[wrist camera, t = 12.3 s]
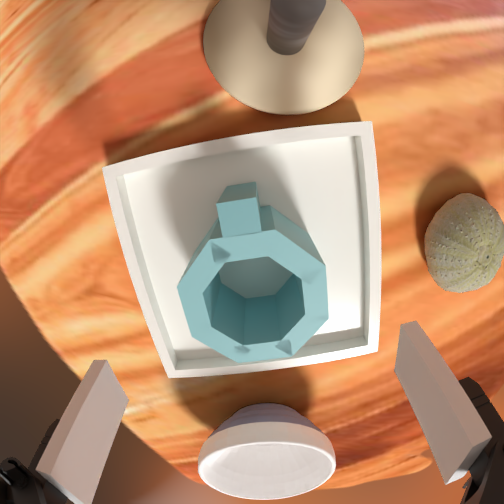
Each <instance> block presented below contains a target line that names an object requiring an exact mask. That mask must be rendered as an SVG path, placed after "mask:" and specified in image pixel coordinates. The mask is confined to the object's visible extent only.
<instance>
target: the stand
mask: <svg viewBox="0 0 504 504" xmlns="http://www.w3.org/2000/svg"><path fill="white" fill-rule="evenodd" d="M203 47H204V54H205V58H206V61H207V64H208V66H209V68H210V70H211V72H212V74H213V75H214V77H215V79H216V80H217V81H218V83H219V84H220V85H221V86H222V88H223V89H224V90H225V91H227V92H228V93H229V94H230V95H231V96H232V97H234V98H235V99H236V100H238V101H239V102H241V103H243V104H245V105H246V106H249V107H251V108H253V109H256V110H259V111H262V112H265V113H270V114H275V115H300V114H306V113H310V112H314V111H317V110H319V109H322V108H324V107H326V106H328V105H330V104H332V103H334V102H335V101H337V100H338V99H340V98H341V97H342V96H343V95H345V94H346V93H347V92H348V90H349V89H350V88H351V87H352V86H353V84H354V83H355V81H356V80H357V78H358V76H359V74H360V72H361V68H362V65H363V60H364V41H363V36H362V33H361V30H360V27H359V25H358V23H357V21H356V19H355V17H354V16H353V14H352V13H351V11H350V10H349V9H348V8H347V6H346V5H345V4H344V3H343V2H342V1H341V0H220V1H219V2H218V4H217V5H216V6H215V7H214V9H213V10H212V12H211V14H210V15H209V18H208V20H207V23H206V25H205V30H204V36H203Z"/></svg>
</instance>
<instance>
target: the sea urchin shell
mask: <svg viewBox="0 0 504 504" xmlns="http://www.w3.org/2000/svg"><path fill="white" fill-rule="evenodd" d="M425 255H426V260H427V266H428V271H429V272H430V274H431V276H432V277H433V279H434V281H435V282H436V283H437V285H438V286H440V287H441V288H443V290H445V291H451V292H458V293H461V292H462V293H463V292H467V291H472V290H477V289H478V288H480V287H482V286H484V285H487V284H488V283H489V282H490V281H491V280H492V279H493V277H495V274H496V272H497V271H498V269H499V268H500V266H501V261H502V258H503V255H504V224H503V222H502V220H501V218H500V216H499V214H498V212H497V211H496V209H495V208H493V207H492V206H491V205H490V204H489V203H488V202H487V201H485V199H484V198H481V197H478V196H476V195H474V194H471V193H460V194H458V195H457V196H455V197H454V198H452V199H449V200H448V201H447V202H446V203H445V204H444V205H443V206H442V207H441V208H440V209H439V210H438V211H437V212H436V213H435V216H434V217H433V219H432V221H431V222H430V224H429V226H428V227H427V230H426V234H425Z"/></svg>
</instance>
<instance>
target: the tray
mask: <svg viewBox="0 0 504 504" xmlns="http://www.w3.org/2000/svg"><path fill="white" fill-rule="evenodd" d="M102 170H103V175H104V179H105V184H106V188H107V193H108V197H109V201H110V205H111V209H112V213H113V217H114V221H115V225H116V229H117V232H118V236H119V239H120V243H121V246H122V250H123V253H124V257H125V260H126V263H127V267H128V270H129V273H130V276H131V279H132V282H133V285H134V288H135V291H136V294H137V297H138V300H139V303H140V306H141V309H142V312H143V314H144V317H145V320H146V323H147V325H148V328H149V331H150V333H151V336H152V339H153V341H154V344H155V346H156V349H157V351H158V354H159V356H160V359H161V361H162V364H163V366H164V368H165V371H166V373H167V375H168V378H183V377H201V376H216V375H228V374H239V373H249V372H258V371H266V370H274V369H282V368H289V367H296V366H303V365H309V364H315V363H321V362H327V361H332V360H338V359H343V358H348V357H353V356H358V355H363V354H367V353H372V352H376V351H378V339H379V324H380V304H381V220H380V200H379V185H378V173H377V162H376V152H375V143H374V135H373V127H372V121H365V122H349V123H335V124H324V125H313V126H304V127H295V128H287V129H279V130H272V131H265V132H258V133H252V134H245V135H239V136H233V137H228V138H222V139H217V140H212V141H207V142H202V143H197V144H192V145H187V146H183V147H178V148H174V149H169V150H165V151H161V152H157V153H153V154H149V155H145V156H141V157H137V158H133V159H130V160H126V161H123V162H119V163H115V164H112V165H109V166H105V167H102ZM250 182H256V185H257V191H258V197H259V204H260V207H262V206H269V205H270V206H272V207H273V208H275V209H276V210H277V211H279V212H280V213H281V214H283V215H284V216H286V217H287V218H288V219H290V220H291V221H292V222H294V223H295V224H296V225H298V226H299V227H300V228H302V229H303V230H305V231H306V232H307V233H308V234H309V235H310V237H311V239H312V241H313V243H314V245H315V247H316V248H317V250H318V252H319V254H320V256H321V258H322V260H323V262H324V264H325V265H326V277H327V293H328V311H329V319H328V320H327V321H326V322H325V323H324V325H323V326H322V327H321V328H320V329H319V330H318V331H317V332H316V333H315V334H314V335H313V336H312V337H311V338H310V339H309V340H308V341H307V342H306V343H305V344H304V345H303V346H302V347H301V348H300V349H299V350H298V351H297V352H296V353H295V354H294V355H293V356H291V357H284V358H277V359H269V360H261V361H253V362H243V363H237V362H235V361H233V360H232V359H230V358H228V357H226V356H224V355H223V354H221V353H219V352H217V351H215V350H214V349H212V348H210V347H208V346H207V345H205V344H203V343H201V342H200V341H198V340H196V339H195V338H193V337H192V336H191V333H190V330H189V327H188V324H187V320H186V317H185V314H184V310H183V307H182V304H181V300H180V297H179V293H178V290H177V285H178V283H179V281H180V279H181V277H182V275H183V273H184V271H185V269H186V267H187V265H188V263H189V262H190V260H191V258H192V256H193V254H194V252H195V250H196V249H197V247H198V246H199V244H200V243H201V241H202V240H203V238H204V237H205V236H206V234H207V233H208V231H209V230H210V228H211V227H212V226H213V224H214V223H215V221H216V220H217V218H218V211H217V206H216V203H217V201H218V200H219V198H220V196H221V195H222V193H223V191H224V190H225V188H226V187H227V186H231V185H237V184H244V183H250ZM292 274H293V273H292V272H290V271H289V270H287V269H286V268H285V267H283V266H282V265H280V264H279V263H277V262H276V261H274V260H273V259H271V258H270V257H269V256H266V257H259V258H253V259H246V260H239V261H232V262H225V263H224V265H223V266H222V267H221V269H220V270H219V275H220V280H221V283H222V284H224V285H225V286H227V287H229V288H230V289H232V290H233V291H235V292H236V293H238V294H240V295H241V296H243V297H244V298H253V297H261V296H268V295H275V294H276V293H277V292H278V291H279V290H280V288H281V287H282V286H283V285H284V284H285V282H286V281H287V280H288V279H289V278H290V276H291V275H292Z"/></svg>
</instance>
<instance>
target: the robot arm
mask: <svg viewBox="0 0 504 504" xmlns="http://www.w3.org/2000/svg"><path fill="white" fill-rule="evenodd" d="M394 371H395V373H396V375H397V377H398V379H399V381H400V383H401V385H402V387H403V389H404V391H405V393H406V396H407V398H408V400H409V402H410V404H411V406H412V408H413V410H414V413H415V415H416V417H417V419H418V421H419V423H420V426H421V428H422V430H423V432H424V435H425V437H426V439H427V441H428V444H429V446H430V448H431V451H432V453H433V455H434V458H435V460H436V463H437V465H438V467H439V470H440V472H441V475H442V477H443V480H444V482H445V484H448V483H451V482H453V481H455V480H457V479H460V478H462V477H463V476H464V475H465V474H466V473H467V471H468V470H469V471H470V473H471V477H470V478H469V479H468V480H467V482H466V483H465V484H464V486H463V488H466V486H467V488H466V490H465V493H464V496H463V498H462V501H461V503H460V504H504V422H503V420H502V419H501V417H500V416H499V414H498V413H497V411H496V409H495V408H494V406H493V405H492V403H490V400H489V399H488V397H487V396H486V395H485V393H484V391H483V390H482V388H481V387H480V385H479V384H478V383H477V382H475V381H474V380H472V379H471V378H469V377H467V378H464V379H462V380H459V381H458V380H457V379H456V377H455V376H454V374H453V373H452V371H451V370H450V368H449V367H448V365H447V364H446V362H445V361H444V359H443V358H442V356H441V355H440V353H439V352H438V351H437V349H436V348H435V346H434V345H433V343H432V342H431V341H430V339H429V338H428V336H427V335H426V334H425V332H424V331H423V329H422V328H421V327H420V325H419V324H418V323H417V321H413V322H409V323H405V324H401V327H400V335H399V343H398V350H397V357H396V363H395V369H394ZM128 401H129V399H128V397H127V396H126V394H125V392H124V391H123V389H122V387H121V385H120V383H119V382H118V380H117V378H116V376H115V374H114V373H113V371H112V369H111V367H110V365H109V363H108V361H107V360H94V361H93V363H92V364H91V366H90V368H89V369H88V371H87V373H86V375H85V376H84V378H83V380H82V381H81V384H80V385H79V387H78V389H77V390H76V392H75V394H74V396H73V398H72V399H71V401H70V403H69V405H68V407H67V408H66V410H65V412H64V414H63V416H62V418H61V420H59V419H56V421H54V422H53V423H52V424H51V426H49V428H48V430H47V432H46V434H45V437H44V438H43V440H42V441H41V444H40V445H39V448H38V449H37V451H36V453H35V455H34V457H33V459H32V461H31V463H30V466H29V467H28V469H27V468H26V467H25V466H24V465H23V464H22V463H21V462H20V461H19V460H17V459H16V458H13V457H11V458H7V459H5V460H3V461H2V463H1V464H0V504H68V503H67V502H66V501H67V498H69V499H70V500H71V501H73V502H74V503H75V504H91V503H92V500H93V497H94V494H95V491H96V488H97V485H98V482H99V479H100V476H101V474H102V471H103V468H104V465H105V462H106V459H107V456H108V454H109V451H110V448H111V446H112V443H113V440H114V437H115V435H116V432H117V429H118V427H119V424H120V421H121V419H122V416H123V414H124V411H125V409H126V406H127V403H128Z"/></svg>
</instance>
